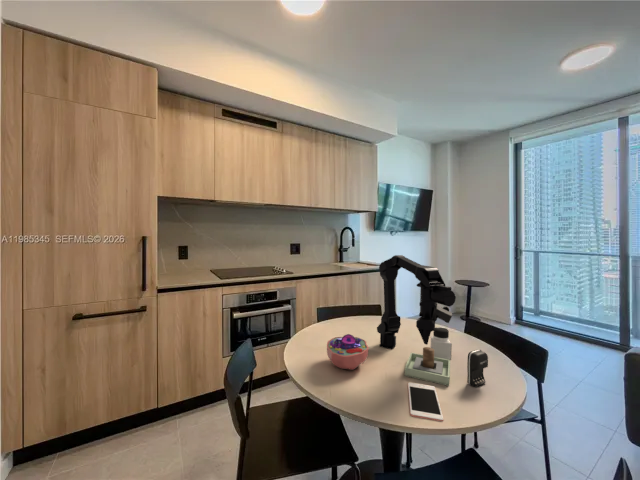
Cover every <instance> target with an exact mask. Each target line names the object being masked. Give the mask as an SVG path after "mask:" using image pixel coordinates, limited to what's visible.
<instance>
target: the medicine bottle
mask: <svg viewBox="0 0 640 480" xmlns="http://www.w3.org/2000/svg"><path fill="white" fill-rule="evenodd" d="M449 331H450V330H449V329H448V328H446V327H442V326H435V330H434V331H432V332H433V335H430V348H433V349H434V357H437V358H442V359H448V360H450V361H451V360H452V345H453V344H452V342H451V341H450V339H449V335H450V334H449Z"/></svg>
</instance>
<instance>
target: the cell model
mask: <svg viewBox="0 0 640 480" xmlns="http://www.w3.org/2000/svg"><path fill="white" fill-rule="evenodd" d="M369 348H370V347H369V346H368V344H367V341H366V340H365V339H363V338H360V337H359V336H358V337H357V336H354V335H352V334H349V333H348V334H347V333H346V334H344V335H343V336H336V337H333V338H330V339H329V340H327V344H326V354H327V356H328V359H329V360H330V362H331V363H332V364H333V365H334V366H336V368H339V369H342V370H355V369H357V367H359V366H360V365H361V364H363V363H364V362H365V361H366V360H367V359H368V355H369Z"/></svg>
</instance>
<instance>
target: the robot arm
mask: <svg viewBox="0 0 640 480" xmlns="http://www.w3.org/2000/svg"><path fill="white" fill-rule="evenodd" d="M378 269H379V276H380V277H381V279H382V280H383V304H384V308H383V309H384V312H383V314H382V315H381V319H380V323H379V324H378V325H377V327H376V333H378V334H380V335H379V336H380V340H379V344H378V345H379V346H378V347H379V348H380V347H381V348H385V349H391V350H393V349H394V348H395V347H396V345H397V336H396V334H399V330H400V329H401V326H402V323H401V316H399V315H398V314H397V312H396V285H395V284H396V283H395V281H396V279H397V277H398V275H399V270H400V269H404V270H405V271H408V272H409V273H411V274H413V275H414V277H415V278H416V279H417V281H419V282H418V283H417V284H416V287H419V288H420V289H419V290H420V293H419V294H420V295H419V296H420V297H419V298H420V299H419V300H420V301H419V314H418V316H419V318H417V320H416V322H415V325H416V326H415V327H416V328H417V330H418V332H419V334H420V337H421V340H422V342H423V343H424V345H426V346H427V345H428V344H429V339H430V337H431V333H432V332H434V330H435V327H436V321H437V320H438V319H439V320H441V321H443V322H445V323H447V324H450V321H451V319H452V317H453V313H452V311H450V307H452V306H453V305H454V304H455V303H456V299H457V297H456V294H455V292H454V291H453V290H452V287H451V286H446V283H445V281H444V279H443V277H442V276H441V273H440V270H439V269H438V268H437V267H435V266H430V265H423V264H420V263H418V262H416V261H414V260H412V259H410V258H407V257H406V256H405V255H403V254H401V255H399V254H395V255H393V256H391V257H390V258H388V259H386V260H383V261H382V262H381V263H380V264H379V266H378ZM438 304H439V305H442V306H443V307H440V306H438Z"/></svg>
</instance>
